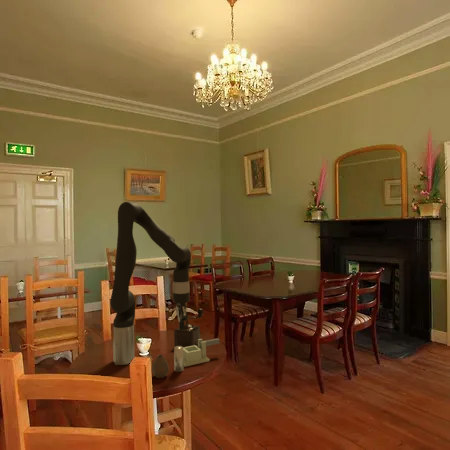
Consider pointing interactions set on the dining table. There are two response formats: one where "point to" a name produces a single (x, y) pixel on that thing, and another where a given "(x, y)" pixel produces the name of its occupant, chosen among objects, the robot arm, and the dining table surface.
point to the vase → (160, 367)
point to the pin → (210, 342)
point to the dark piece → (188, 333)
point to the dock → (195, 354)
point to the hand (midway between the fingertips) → (181, 329)
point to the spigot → (178, 358)
